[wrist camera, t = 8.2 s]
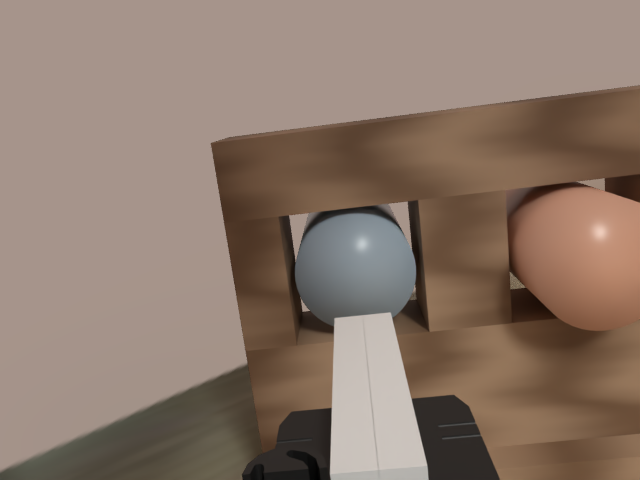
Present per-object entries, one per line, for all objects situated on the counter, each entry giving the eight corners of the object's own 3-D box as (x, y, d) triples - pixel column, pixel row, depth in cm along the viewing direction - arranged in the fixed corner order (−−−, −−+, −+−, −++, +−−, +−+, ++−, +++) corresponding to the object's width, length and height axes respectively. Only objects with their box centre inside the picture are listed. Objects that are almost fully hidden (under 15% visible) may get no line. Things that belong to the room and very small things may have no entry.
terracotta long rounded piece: (575, 258, 30) (573, 163, 29) (675, 323, 21) (678, 189, 20) (479, 269, 30) (473, 175, 29) (537, 337, 21) (532, 206, 20)
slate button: (398, 264, 33) (390, 178, 31) (421, 323, 24) (410, 207, 23) (312, 274, 33) (301, 189, 32) (303, 336, 24) (287, 221, 23)
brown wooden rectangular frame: (813, 378, 30) (840, 58, 26) (956, 460, 23) (1019, 43, 19) (281, 429, 31) (235, 135, 27) (265, 520, 24) (201, 145, 21)
